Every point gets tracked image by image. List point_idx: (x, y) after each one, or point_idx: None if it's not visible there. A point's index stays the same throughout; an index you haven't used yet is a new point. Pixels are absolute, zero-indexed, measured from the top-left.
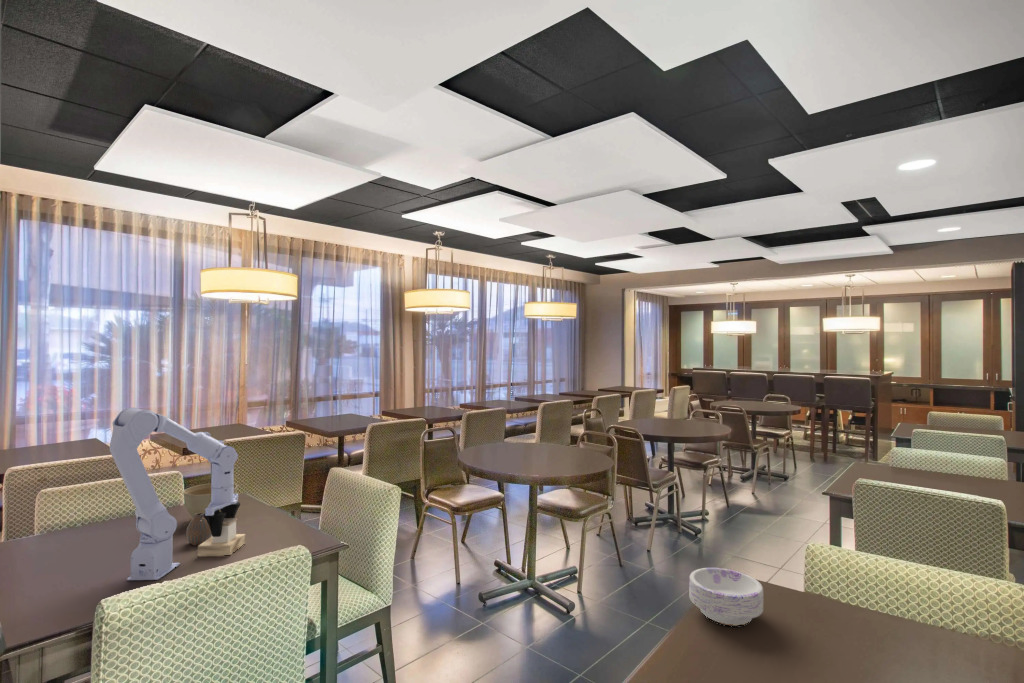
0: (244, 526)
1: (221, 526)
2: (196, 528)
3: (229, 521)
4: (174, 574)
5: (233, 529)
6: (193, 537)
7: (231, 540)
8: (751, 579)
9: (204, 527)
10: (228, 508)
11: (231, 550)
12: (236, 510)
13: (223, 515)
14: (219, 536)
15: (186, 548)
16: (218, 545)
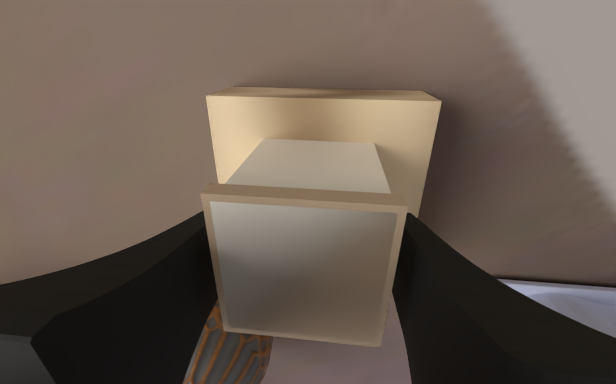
0: (17, 205)
1: (438, 250)
2: (254, 373)
3: (319, 228)
4: (603, 256)
5: (291, 163)
6: (272, 339)
7: (333, 138)
8: None
9: (230, 347)
10: (135, 377)
11: (408, 94)
12: (96, 271)
13: (609, 356)
14: (410, 213)
15: None
16: (421, 183)
